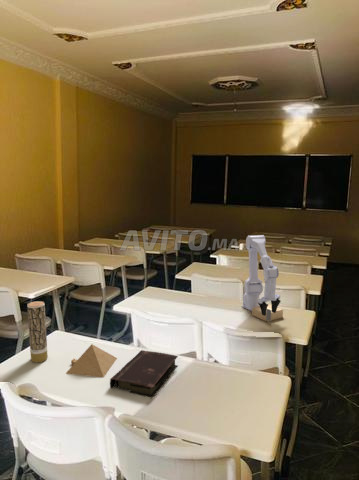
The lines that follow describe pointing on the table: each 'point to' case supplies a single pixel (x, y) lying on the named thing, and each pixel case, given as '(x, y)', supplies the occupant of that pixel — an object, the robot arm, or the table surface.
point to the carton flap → (259, 314)
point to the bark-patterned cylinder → (37, 331)
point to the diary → (145, 373)
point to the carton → (273, 315)
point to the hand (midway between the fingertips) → (268, 313)
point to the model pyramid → (92, 363)
